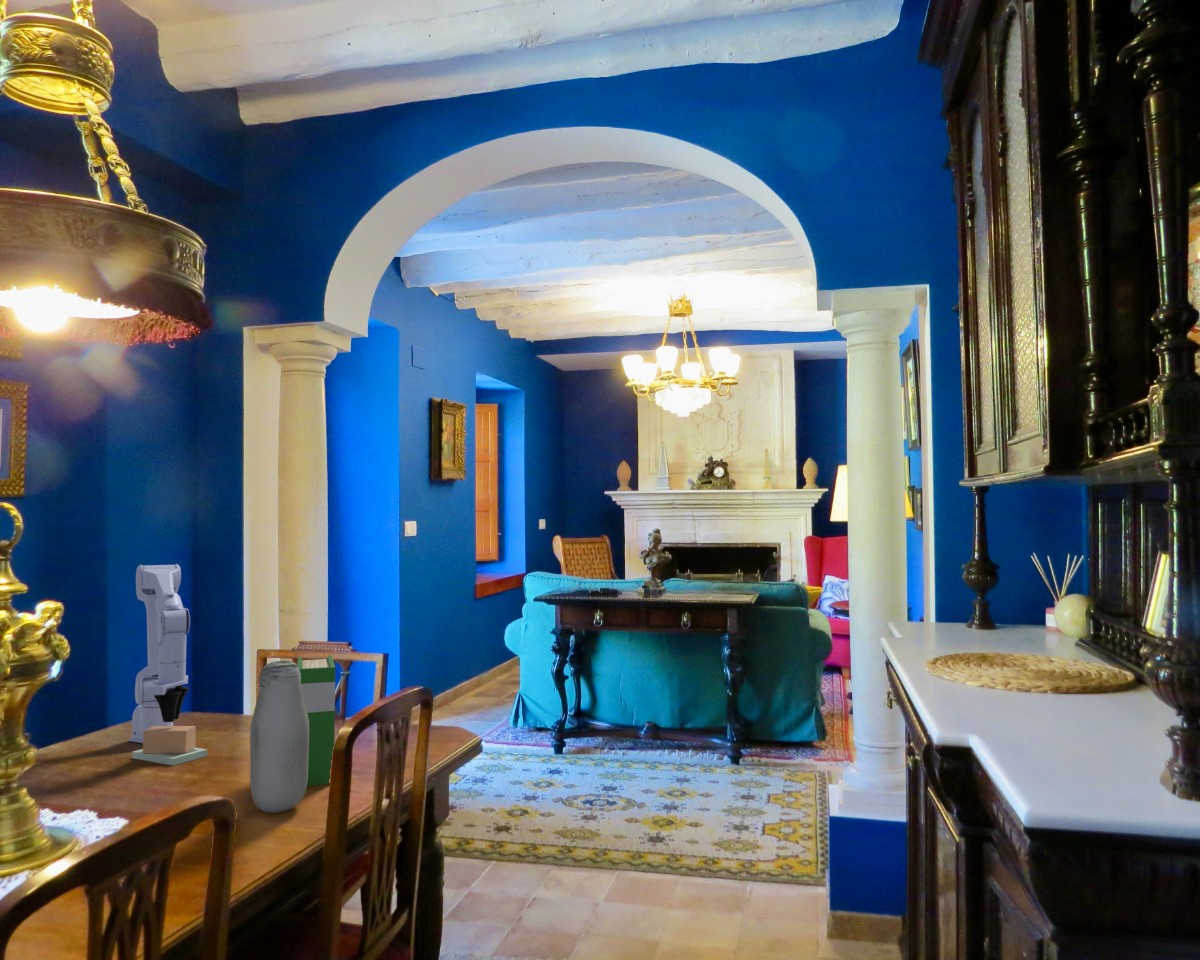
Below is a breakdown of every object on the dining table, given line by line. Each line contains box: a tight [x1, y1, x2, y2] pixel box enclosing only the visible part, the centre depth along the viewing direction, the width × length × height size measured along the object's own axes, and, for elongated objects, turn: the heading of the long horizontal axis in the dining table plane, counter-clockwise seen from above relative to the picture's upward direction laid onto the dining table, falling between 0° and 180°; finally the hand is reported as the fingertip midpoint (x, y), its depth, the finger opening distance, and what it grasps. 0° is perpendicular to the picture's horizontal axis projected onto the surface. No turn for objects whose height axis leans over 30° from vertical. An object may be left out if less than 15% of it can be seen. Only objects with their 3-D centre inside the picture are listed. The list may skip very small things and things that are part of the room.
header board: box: [131, 746, 208, 766], centre depth 199 cm, size 14×9×4 cm, turn 64°
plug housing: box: [142, 725, 197, 753], centre depth 199 cm, size 10×5×5 cm, turn 91°
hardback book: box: [297, 655, 336, 787], centre depth 186 cm, size 18×7×24 cm, turn 20°
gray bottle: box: [249, 660, 309, 814], centre depth 162 cm, size 10×10×28 cm
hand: (170, 720), depth 199 cm, fingers open, 2 cm apart
